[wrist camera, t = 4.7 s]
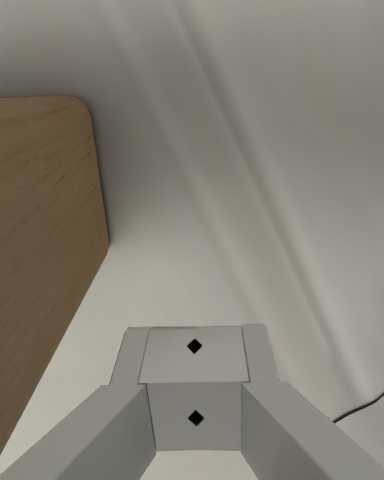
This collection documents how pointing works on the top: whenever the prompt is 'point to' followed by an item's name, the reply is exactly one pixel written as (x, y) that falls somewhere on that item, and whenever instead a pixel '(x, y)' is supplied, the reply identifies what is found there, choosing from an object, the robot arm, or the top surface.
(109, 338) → the top surface
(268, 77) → the top surface
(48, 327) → the wooden block
